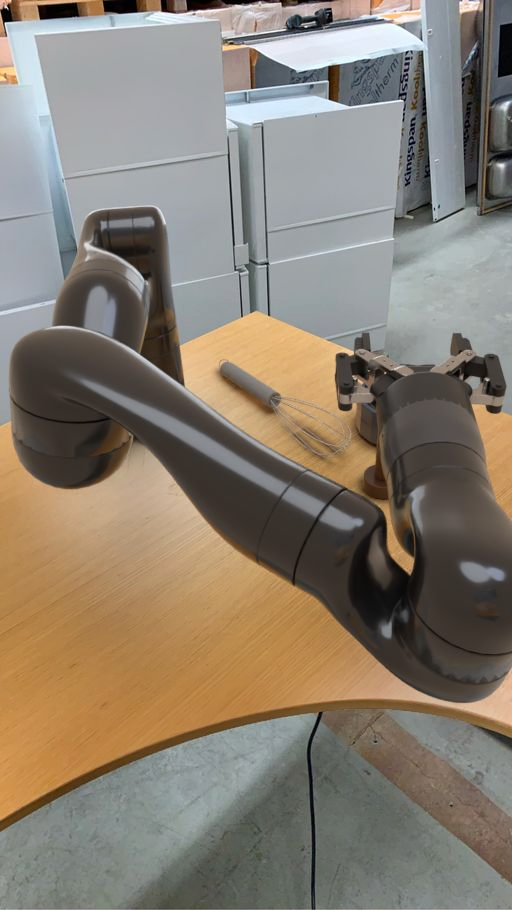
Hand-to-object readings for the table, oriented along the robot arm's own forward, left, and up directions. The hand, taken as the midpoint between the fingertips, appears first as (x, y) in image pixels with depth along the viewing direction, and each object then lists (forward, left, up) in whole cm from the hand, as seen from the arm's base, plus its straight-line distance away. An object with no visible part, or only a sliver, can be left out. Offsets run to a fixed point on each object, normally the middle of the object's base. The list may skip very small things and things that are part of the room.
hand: (409, 341), depth 63 cm
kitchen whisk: (-20, +25, -28) cm, 42 cm away
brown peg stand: (-2, +11, -28) cm, 30 cm away
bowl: (-1, +25, -28) cm, 37 cm away
